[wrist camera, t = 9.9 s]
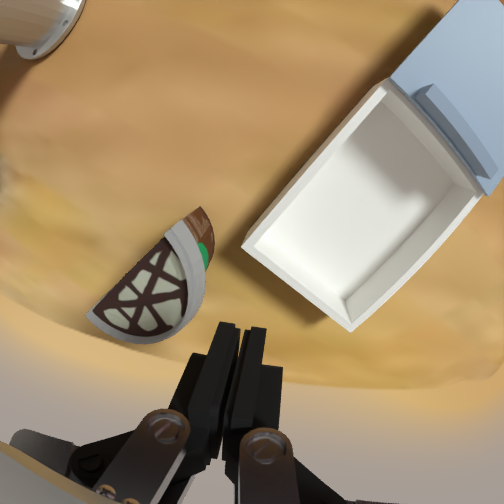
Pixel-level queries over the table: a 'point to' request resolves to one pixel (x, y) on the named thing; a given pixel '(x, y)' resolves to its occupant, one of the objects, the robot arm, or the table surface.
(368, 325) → the table surface
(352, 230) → the white rectangular tray
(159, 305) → the food container
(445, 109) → the lid
